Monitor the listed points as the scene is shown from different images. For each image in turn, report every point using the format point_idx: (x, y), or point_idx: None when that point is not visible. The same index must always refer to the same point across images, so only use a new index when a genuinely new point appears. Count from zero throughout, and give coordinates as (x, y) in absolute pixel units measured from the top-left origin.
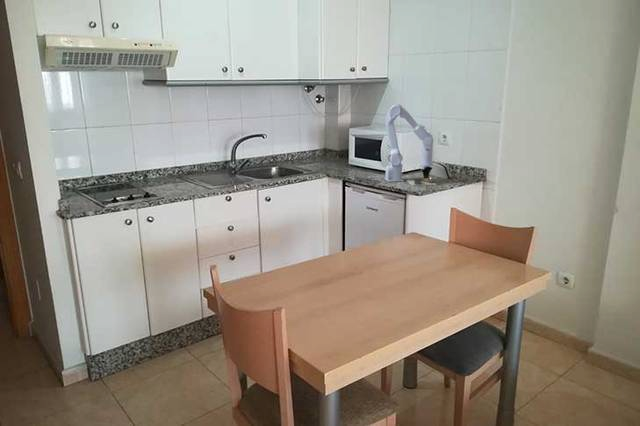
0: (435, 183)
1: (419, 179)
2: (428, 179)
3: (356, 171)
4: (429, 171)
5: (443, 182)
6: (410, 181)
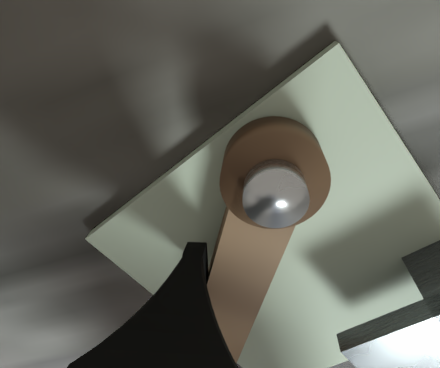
0: (291, 83)
1: None
2: None
3: None
4: (183, 336)
5: (54, 19)
6: (325, 353)
